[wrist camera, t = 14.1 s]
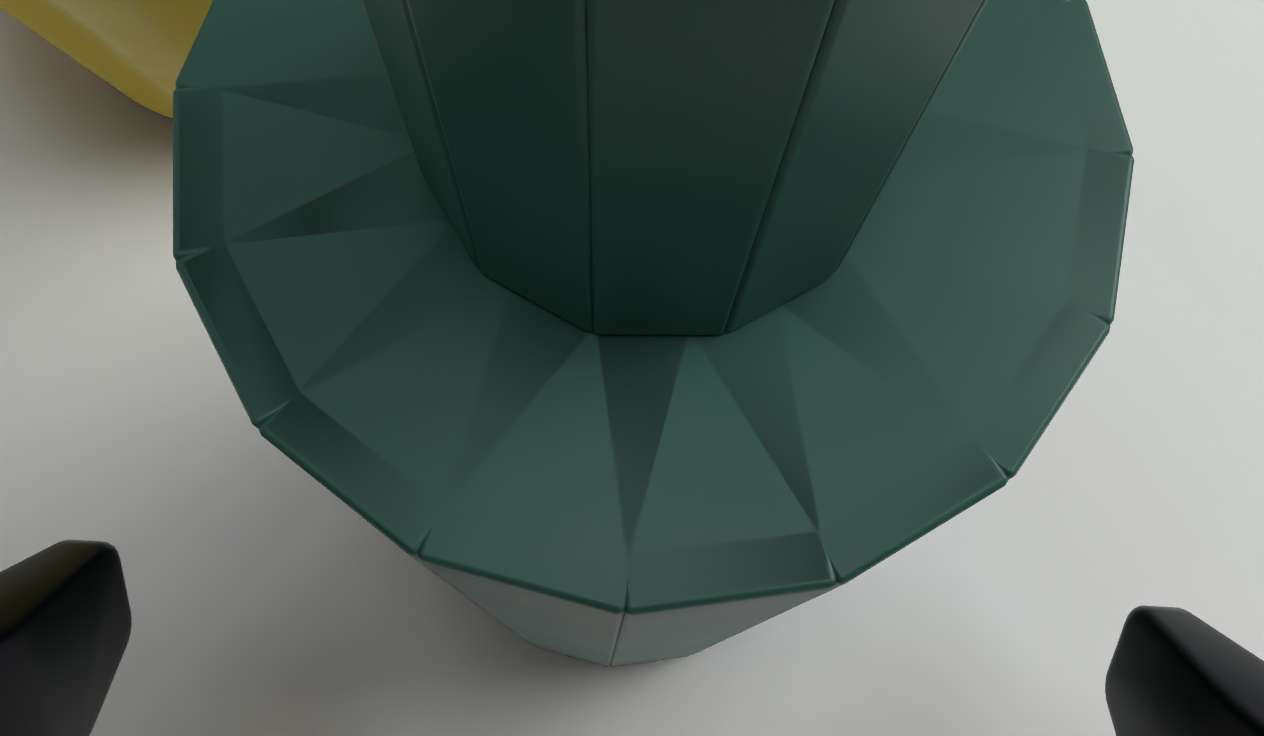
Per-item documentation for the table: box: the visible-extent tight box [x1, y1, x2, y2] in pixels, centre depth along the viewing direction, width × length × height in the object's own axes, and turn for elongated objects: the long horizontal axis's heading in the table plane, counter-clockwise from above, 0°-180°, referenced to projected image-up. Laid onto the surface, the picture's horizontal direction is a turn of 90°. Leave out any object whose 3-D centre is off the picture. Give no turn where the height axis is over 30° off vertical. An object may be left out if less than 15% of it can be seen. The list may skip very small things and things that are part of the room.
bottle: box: [173, 0, 1134, 666], centre depth 11 cm, size 7×7×15 cm
